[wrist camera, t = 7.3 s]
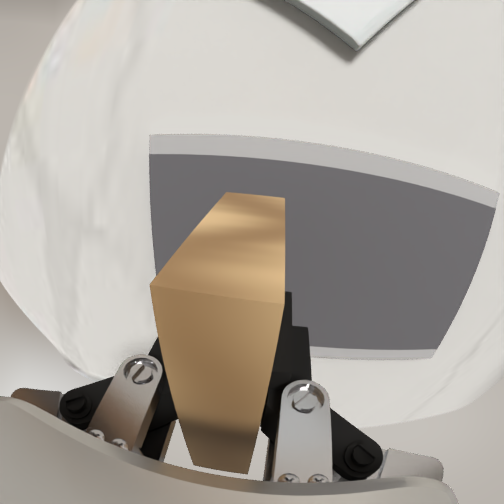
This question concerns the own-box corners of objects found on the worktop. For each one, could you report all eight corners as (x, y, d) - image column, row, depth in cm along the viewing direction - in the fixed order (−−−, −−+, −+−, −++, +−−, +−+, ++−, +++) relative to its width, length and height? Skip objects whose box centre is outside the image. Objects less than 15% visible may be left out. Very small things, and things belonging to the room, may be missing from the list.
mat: (493, 190, 11) (499, 193, 10) (428, 353, 17) (431, 358, 16) (154, 134, 13) (149, 135, 12) (167, 329, 18) (165, 335, 18)
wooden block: (285, 198, 10) (284, 303, 4) (262, 364, 14) (247, 474, 8) (226, 192, 10) (149, 284, 4) (222, 358, 14) (193, 464, 8)
